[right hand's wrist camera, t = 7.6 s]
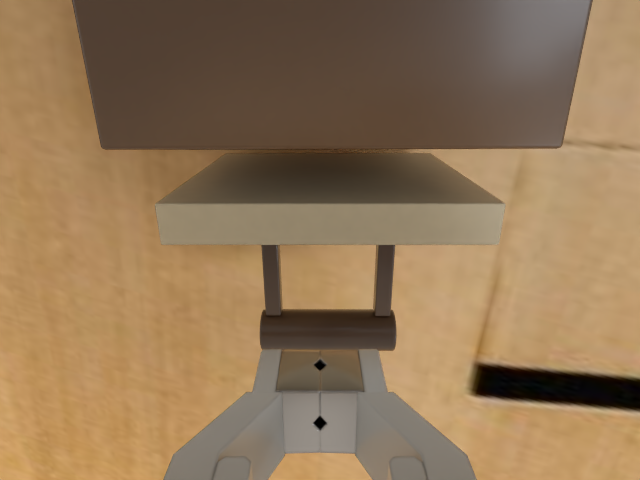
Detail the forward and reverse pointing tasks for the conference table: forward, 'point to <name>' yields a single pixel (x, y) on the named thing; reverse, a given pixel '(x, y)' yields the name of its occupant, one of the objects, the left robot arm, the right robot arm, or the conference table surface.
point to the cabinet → (331, 73)
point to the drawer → (329, 226)
